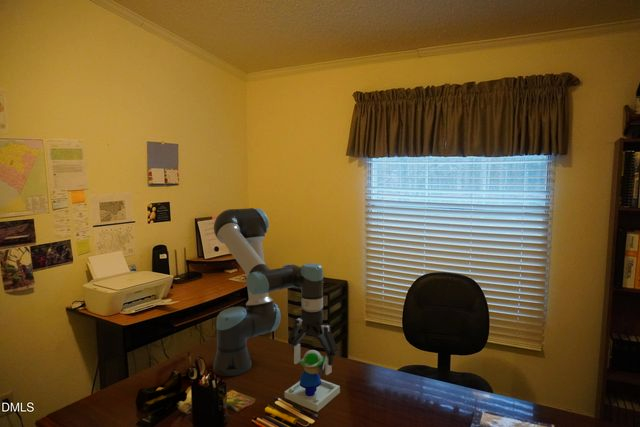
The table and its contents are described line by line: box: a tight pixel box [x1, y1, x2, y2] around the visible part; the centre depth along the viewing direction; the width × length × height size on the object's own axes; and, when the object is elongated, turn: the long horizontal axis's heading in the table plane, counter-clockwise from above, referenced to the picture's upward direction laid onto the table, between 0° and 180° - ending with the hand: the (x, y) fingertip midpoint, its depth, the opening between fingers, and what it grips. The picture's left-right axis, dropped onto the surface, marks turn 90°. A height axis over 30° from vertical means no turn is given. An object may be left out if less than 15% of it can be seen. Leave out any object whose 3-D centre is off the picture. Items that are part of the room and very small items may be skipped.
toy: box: [299, 349, 327, 396], centre depth 128 cm, size 9×9×15 cm
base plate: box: [284, 378, 341, 413], centre depth 128 cm, size 14×14×3 cm
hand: (312, 367), depth 128 cm, fingers open, 13 cm apart
